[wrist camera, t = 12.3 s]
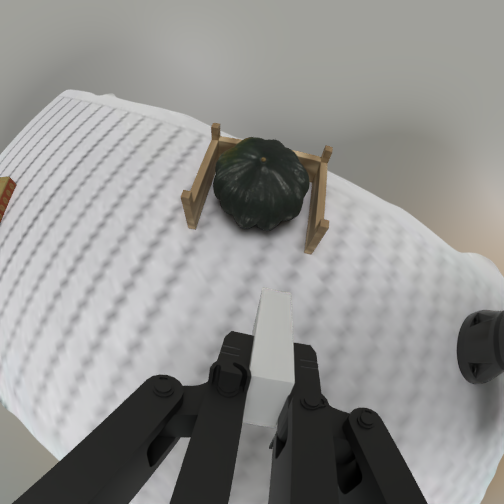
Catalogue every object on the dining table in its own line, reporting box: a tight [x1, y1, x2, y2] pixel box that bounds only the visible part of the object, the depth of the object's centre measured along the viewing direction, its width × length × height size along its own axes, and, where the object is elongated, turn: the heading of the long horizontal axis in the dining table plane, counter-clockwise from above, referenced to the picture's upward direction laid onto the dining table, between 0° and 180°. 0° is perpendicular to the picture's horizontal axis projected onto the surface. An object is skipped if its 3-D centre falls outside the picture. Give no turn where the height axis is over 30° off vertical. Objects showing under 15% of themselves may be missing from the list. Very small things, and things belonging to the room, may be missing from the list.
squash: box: [213, 137, 310, 230], centre depth 42 cm, size 14×15×15 cm
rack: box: [181, 123, 332, 254], centre depth 44 cm, size 20×16×9 cm
